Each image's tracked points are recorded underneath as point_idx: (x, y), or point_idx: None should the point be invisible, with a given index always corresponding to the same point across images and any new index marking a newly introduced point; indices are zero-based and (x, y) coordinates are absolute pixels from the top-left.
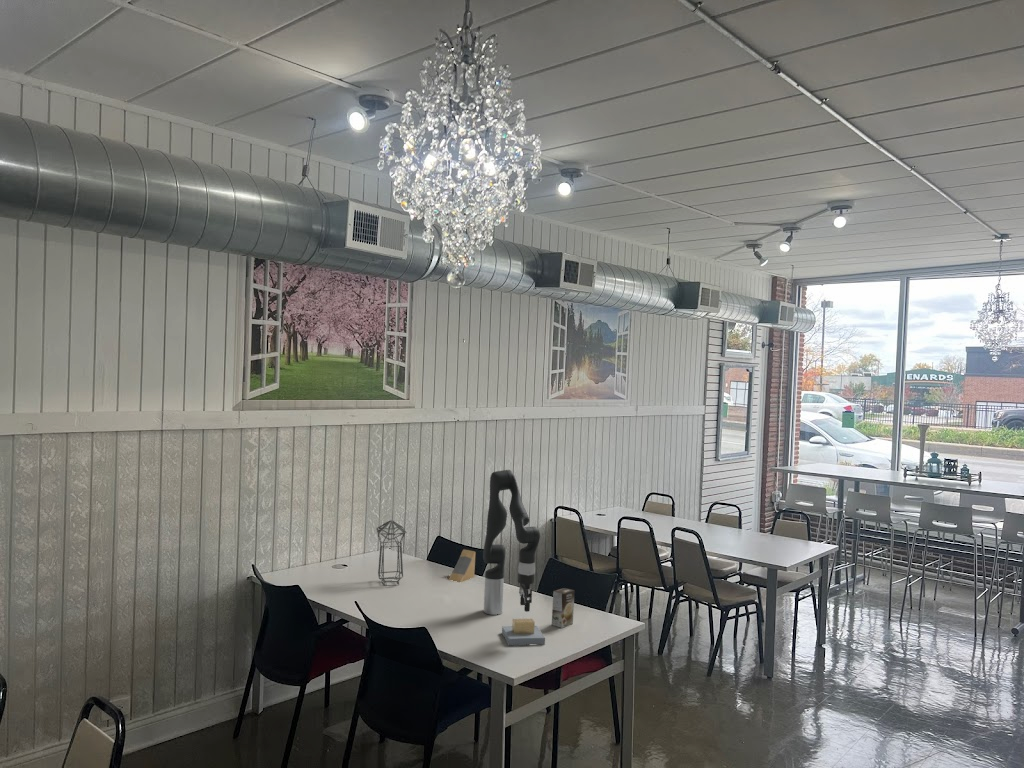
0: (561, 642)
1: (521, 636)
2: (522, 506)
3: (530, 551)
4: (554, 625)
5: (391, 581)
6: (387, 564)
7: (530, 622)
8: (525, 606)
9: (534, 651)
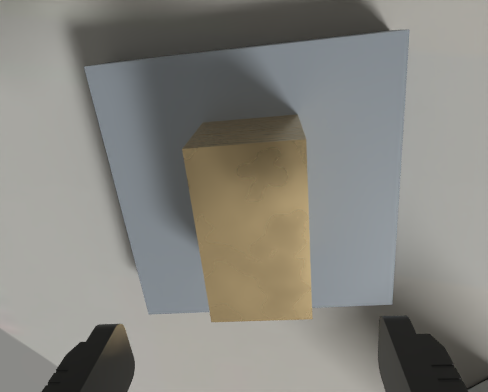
0: (205, 365)
1: (152, 172)
2: None
3: None
4: (480, 383)
5: None
6: None
7: (206, 290)
8: (68, 385)
9: (40, 218)
